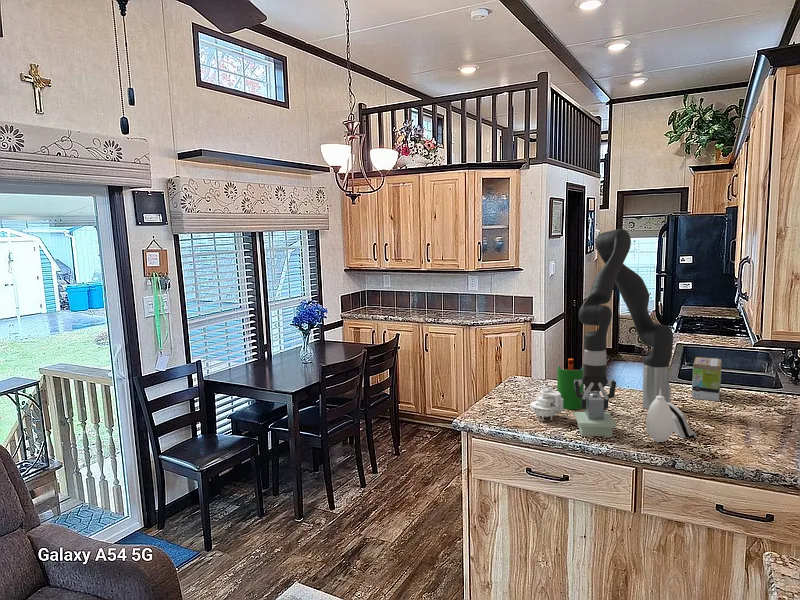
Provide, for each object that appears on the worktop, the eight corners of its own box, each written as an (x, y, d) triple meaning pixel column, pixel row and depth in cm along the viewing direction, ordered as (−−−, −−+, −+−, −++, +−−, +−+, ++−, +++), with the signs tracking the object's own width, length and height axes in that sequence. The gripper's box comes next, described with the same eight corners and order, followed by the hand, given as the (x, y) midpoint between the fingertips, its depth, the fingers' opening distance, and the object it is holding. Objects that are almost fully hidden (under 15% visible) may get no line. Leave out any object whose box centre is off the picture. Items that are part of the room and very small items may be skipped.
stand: (608, 425, 192) (608, 412, 192) (616, 438, 181) (616, 423, 180) (573, 424, 194) (574, 411, 194) (579, 437, 183) (579, 423, 182)
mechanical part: (524, 416, 206) (524, 386, 204) (549, 411, 210) (549, 382, 209) (543, 425, 195) (543, 393, 194) (569, 419, 200) (569, 389, 199)
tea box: (719, 401, 215) (720, 365, 213) (691, 398, 220) (692, 363, 218) (720, 392, 227) (721, 358, 226) (693, 389, 233) (694, 356, 231)
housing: (598, 411, 193) (599, 390, 192) (603, 419, 184) (603, 397, 183) (584, 411, 194) (584, 390, 193) (588, 419, 185) (588, 397, 184)
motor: (581, 402, 220) (581, 355, 217) (586, 409, 211) (586, 360, 208) (555, 402, 221) (555, 355, 218) (560, 409, 212) (560, 360, 209)
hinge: (697, 438, 178) (687, 410, 178) (683, 442, 179) (673, 415, 178) (675, 421, 195) (666, 396, 194) (662, 425, 195) (653, 400, 195)
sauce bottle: (655, 435, 182) (656, 383, 180) (677, 442, 175) (678, 389, 173) (641, 440, 178) (642, 388, 176) (663, 448, 171) (664, 393, 169)
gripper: (614, 359, 187) (613, 406, 189) (571, 359, 190) (571, 405, 192) (619, 364, 180) (618, 413, 182) (574, 364, 182) (574, 412, 184)
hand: (594, 409), depth 187 cm, fingers open, 6 cm apart
